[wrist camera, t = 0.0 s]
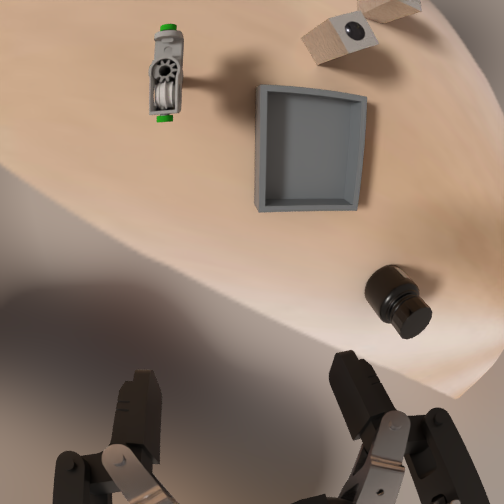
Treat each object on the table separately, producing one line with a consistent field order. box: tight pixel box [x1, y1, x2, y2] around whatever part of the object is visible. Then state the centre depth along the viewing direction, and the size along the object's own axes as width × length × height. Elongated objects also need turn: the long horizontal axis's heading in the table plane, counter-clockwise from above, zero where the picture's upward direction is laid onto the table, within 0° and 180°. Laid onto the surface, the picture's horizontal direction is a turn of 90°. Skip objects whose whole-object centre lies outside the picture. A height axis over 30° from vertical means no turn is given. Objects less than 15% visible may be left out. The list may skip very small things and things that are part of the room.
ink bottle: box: [365, 265, 432, 339], centre depth 44 cm, size 10×9×12 cm
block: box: [301, 10, 379, 65], centre depth 25 cm, size 4×4×10 cm
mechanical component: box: [149, 24, 184, 122], centre depth 25 cm, size 3×10×10 cm, turn 178°
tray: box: [254, 85, 367, 212], centre depth 34 cm, size 16×14×4 cm
